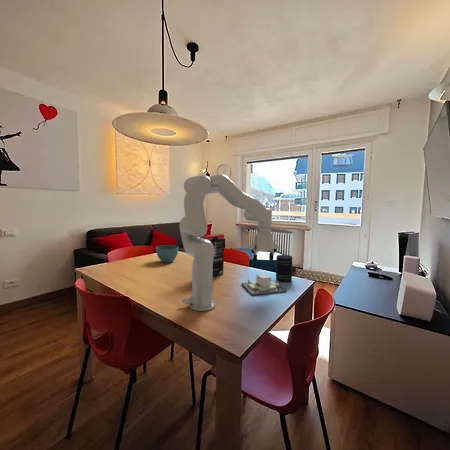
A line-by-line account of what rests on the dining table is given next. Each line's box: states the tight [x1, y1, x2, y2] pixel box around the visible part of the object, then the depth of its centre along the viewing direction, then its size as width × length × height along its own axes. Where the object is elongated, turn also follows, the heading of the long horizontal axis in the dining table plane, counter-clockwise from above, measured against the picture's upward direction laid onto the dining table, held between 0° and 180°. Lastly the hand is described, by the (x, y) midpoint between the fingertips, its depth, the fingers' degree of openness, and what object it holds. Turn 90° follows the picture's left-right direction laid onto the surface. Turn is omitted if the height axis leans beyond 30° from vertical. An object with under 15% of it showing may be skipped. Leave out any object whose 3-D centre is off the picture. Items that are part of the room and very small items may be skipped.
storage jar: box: [275, 254, 293, 283], centre depth 143 cm, size 10×10×15 cm
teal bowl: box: [155, 244, 180, 263], centre depth 186 cm, size 18×18×12 cm
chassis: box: [241, 276, 287, 297], centre depth 129 cm, size 20×16×4 cm
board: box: [248, 273, 277, 291], centre depth 129 cm, size 16×12×6 cm
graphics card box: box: [200, 233, 225, 277], centre depth 150 cm, size 17×7×27 cm, turn 135°
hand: (263, 260), depth 127 cm, fingers open, 9 cm apart
